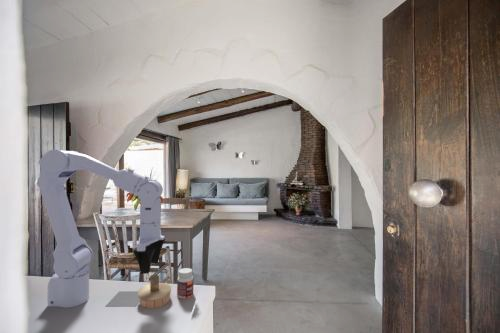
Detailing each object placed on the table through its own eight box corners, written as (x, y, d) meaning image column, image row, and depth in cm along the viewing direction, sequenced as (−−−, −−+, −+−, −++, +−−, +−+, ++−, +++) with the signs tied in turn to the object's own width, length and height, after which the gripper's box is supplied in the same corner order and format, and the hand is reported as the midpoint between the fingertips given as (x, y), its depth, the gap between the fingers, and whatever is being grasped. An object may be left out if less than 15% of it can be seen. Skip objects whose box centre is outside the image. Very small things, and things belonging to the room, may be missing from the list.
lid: (132, 300, 73) (132, 283, 73) (144, 285, 82) (144, 270, 82) (165, 300, 73) (165, 283, 73) (174, 285, 82) (174, 270, 82)
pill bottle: (189, 303, 78) (189, 274, 78) (174, 301, 79) (174, 273, 78) (195, 295, 82) (196, 268, 82) (181, 293, 83) (181, 266, 83)
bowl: (135, 311, 73) (135, 299, 73) (146, 296, 81) (146, 285, 81) (165, 311, 73) (165, 299, 73) (173, 296, 81) (173, 285, 81)
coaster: (105, 309, 74) (105, 306, 74) (119, 294, 82) (119, 291, 82) (135, 309, 74) (135, 306, 74) (146, 294, 82) (146, 291, 82)
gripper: (155, 228, 71) (155, 278, 72) (171, 216, 86) (170, 258, 86) (129, 227, 71) (128, 278, 71) (148, 216, 86) (148, 258, 86)
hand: (149, 267), depth 79 cm, fingers open, 7 cm apart
